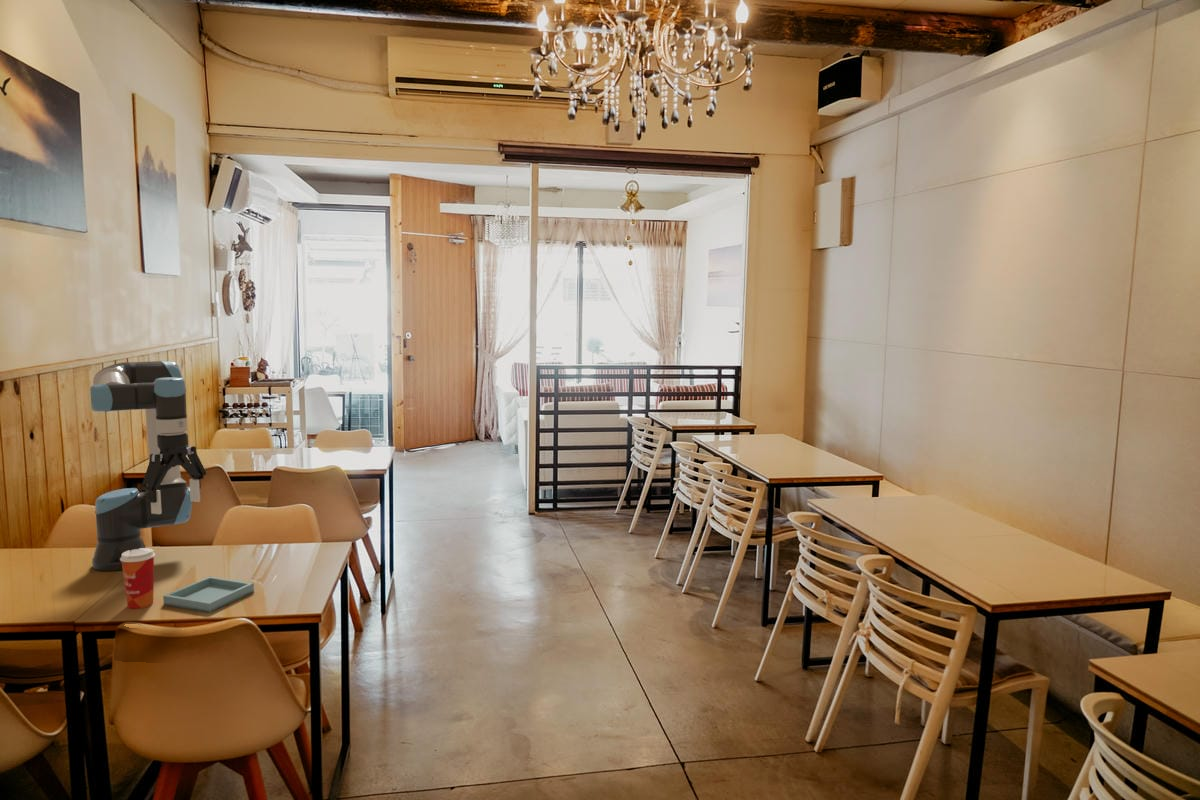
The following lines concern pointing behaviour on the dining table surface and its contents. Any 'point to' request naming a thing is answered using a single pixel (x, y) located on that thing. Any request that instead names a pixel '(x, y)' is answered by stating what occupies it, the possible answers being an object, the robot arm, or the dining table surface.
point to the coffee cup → (138, 577)
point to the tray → (208, 594)
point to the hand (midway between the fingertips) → (176, 507)
